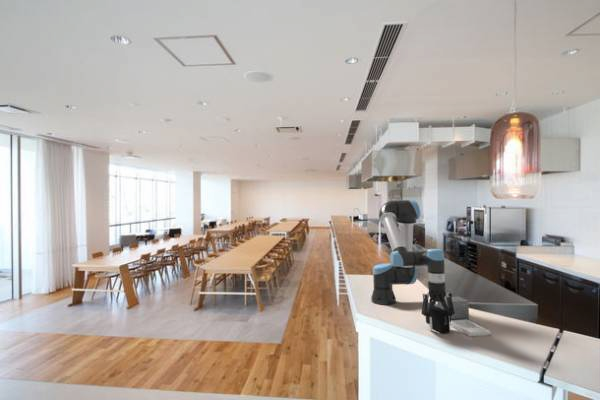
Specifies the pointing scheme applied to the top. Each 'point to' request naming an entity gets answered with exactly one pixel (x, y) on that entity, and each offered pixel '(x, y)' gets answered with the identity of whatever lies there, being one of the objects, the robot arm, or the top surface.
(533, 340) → the top surface
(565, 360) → the top surface
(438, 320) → the electronic device
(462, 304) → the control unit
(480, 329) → the tray
